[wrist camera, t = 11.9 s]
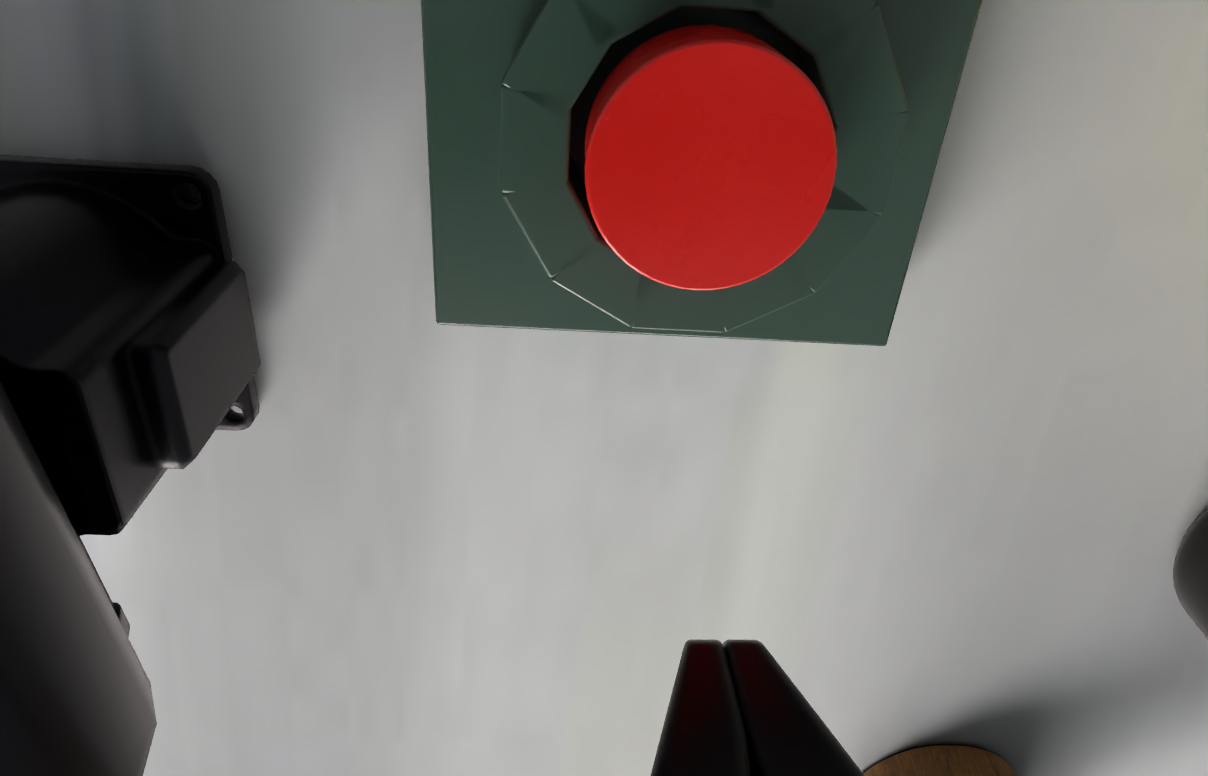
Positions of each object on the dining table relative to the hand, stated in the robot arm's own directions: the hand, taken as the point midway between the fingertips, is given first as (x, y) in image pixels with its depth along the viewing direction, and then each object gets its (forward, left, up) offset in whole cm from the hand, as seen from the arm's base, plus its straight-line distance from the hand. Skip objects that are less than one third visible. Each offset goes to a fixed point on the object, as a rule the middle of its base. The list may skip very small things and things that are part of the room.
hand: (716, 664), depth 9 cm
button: (0, +4, -8) cm, 9 cm away
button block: (0, +4, -11) cm, 12 cm away
